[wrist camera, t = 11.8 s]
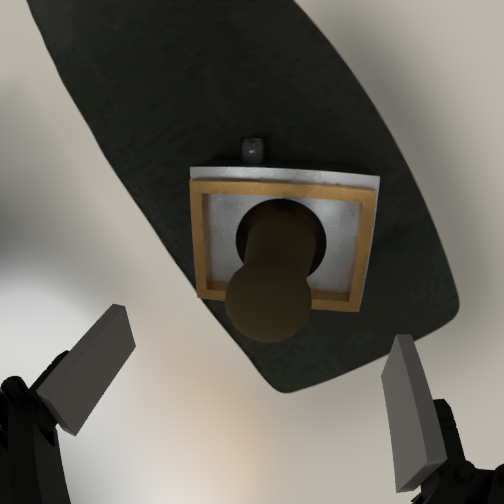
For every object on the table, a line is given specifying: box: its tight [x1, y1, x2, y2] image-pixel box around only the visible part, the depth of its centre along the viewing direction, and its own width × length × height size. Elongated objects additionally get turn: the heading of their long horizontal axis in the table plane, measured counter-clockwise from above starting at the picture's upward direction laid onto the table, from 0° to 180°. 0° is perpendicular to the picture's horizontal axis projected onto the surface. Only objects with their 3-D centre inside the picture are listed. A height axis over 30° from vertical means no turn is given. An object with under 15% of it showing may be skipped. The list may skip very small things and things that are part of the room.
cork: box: [225, 210, 316, 342], centre depth 21 cm, size 6×6×11 cm
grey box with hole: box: [189, 137, 380, 312], centre depth 28 cm, size 15×16×8 cm
